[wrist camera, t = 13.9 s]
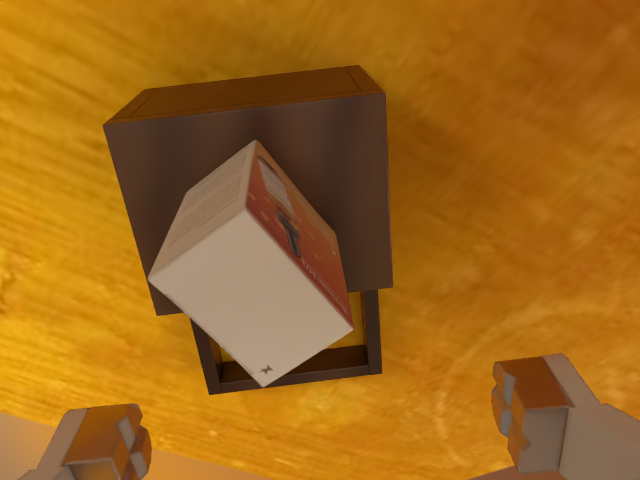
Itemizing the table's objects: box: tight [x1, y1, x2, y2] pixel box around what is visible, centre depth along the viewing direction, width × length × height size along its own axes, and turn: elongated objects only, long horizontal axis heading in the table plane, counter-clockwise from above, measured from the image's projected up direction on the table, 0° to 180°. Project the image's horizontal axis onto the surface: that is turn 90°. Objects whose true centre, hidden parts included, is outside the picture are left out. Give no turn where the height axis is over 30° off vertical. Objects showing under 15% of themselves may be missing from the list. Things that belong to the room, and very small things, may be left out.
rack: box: [103, 65, 393, 395], centre depth 41 cm, size 16×27×10 cm, turn 6°
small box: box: [148, 140, 354, 387], centre depth 28 cm, size 8×6×10 cm
